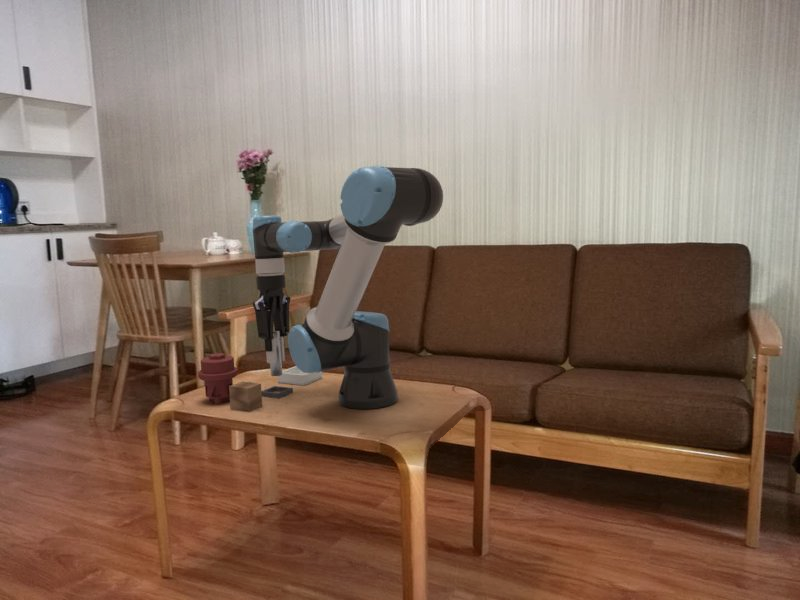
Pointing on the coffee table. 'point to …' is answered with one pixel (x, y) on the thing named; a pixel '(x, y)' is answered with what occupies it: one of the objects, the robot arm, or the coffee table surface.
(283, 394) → the socket
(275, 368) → the pin
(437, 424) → the coffee table surface
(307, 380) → the tray
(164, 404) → the coffee table surface
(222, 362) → the mechanical component
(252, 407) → the block
